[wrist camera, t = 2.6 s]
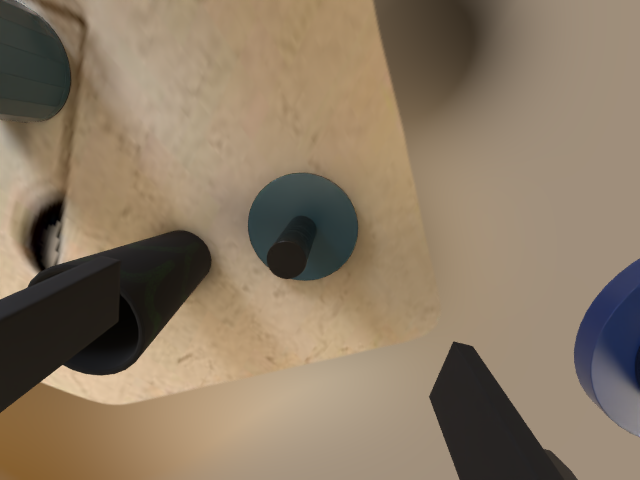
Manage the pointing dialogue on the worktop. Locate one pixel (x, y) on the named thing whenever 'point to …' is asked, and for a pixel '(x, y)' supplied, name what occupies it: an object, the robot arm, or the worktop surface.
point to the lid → (302, 226)
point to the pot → (30, 66)
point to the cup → (141, 296)
